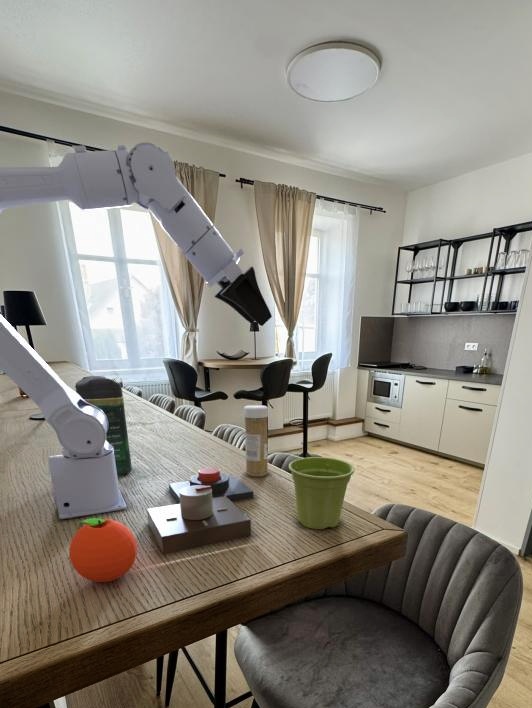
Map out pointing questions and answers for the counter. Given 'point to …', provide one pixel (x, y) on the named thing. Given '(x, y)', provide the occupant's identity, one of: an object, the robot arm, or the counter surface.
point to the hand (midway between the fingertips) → (261, 320)
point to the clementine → (102, 550)
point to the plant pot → (320, 489)
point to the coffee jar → (109, 415)
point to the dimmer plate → (197, 526)
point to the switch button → (209, 474)
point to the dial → (196, 502)
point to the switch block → (216, 487)
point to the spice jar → (256, 440)
